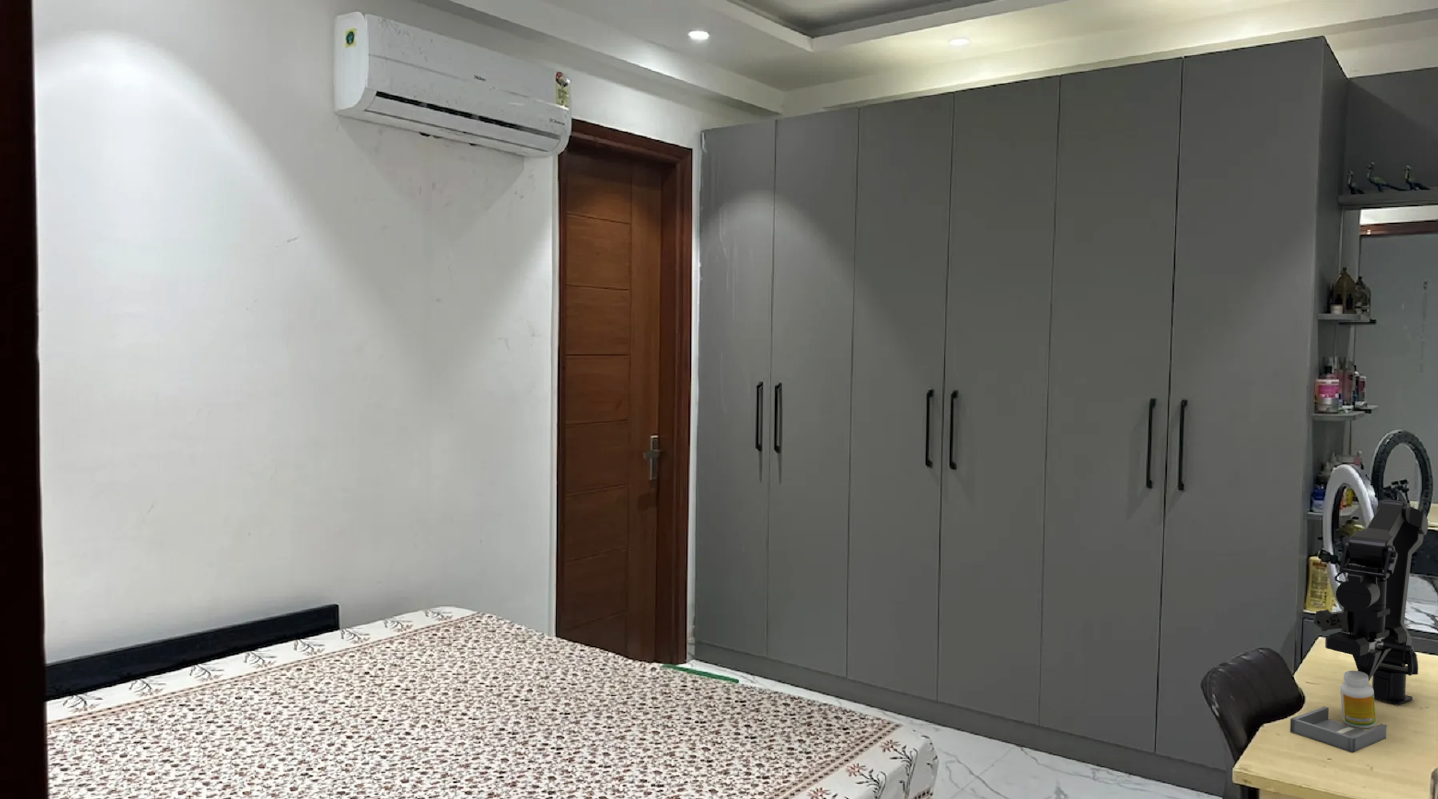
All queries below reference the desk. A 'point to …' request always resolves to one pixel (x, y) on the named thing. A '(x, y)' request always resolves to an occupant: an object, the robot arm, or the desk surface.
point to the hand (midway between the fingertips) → (1364, 681)
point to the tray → (1335, 731)
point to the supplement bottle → (1357, 700)
